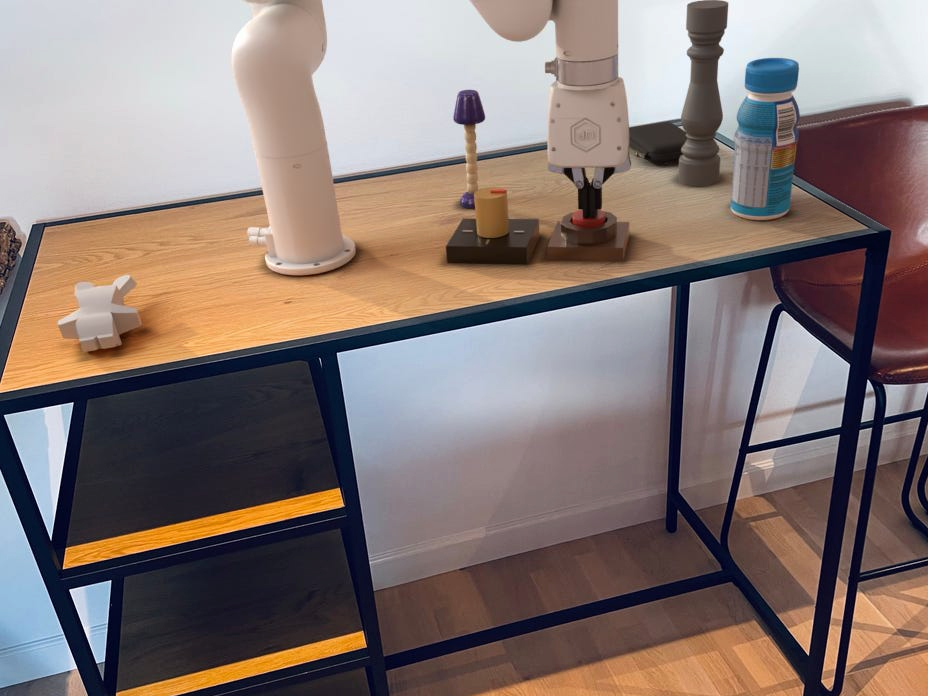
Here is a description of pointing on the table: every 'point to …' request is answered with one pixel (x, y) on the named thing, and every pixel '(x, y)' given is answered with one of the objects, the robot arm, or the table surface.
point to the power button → (588, 219)
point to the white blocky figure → (101, 315)
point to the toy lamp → (469, 138)
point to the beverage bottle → (766, 140)
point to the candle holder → (703, 93)
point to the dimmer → (493, 244)
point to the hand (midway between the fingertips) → (590, 214)
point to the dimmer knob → (491, 212)
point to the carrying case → (658, 142)
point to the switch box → (589, 241)
